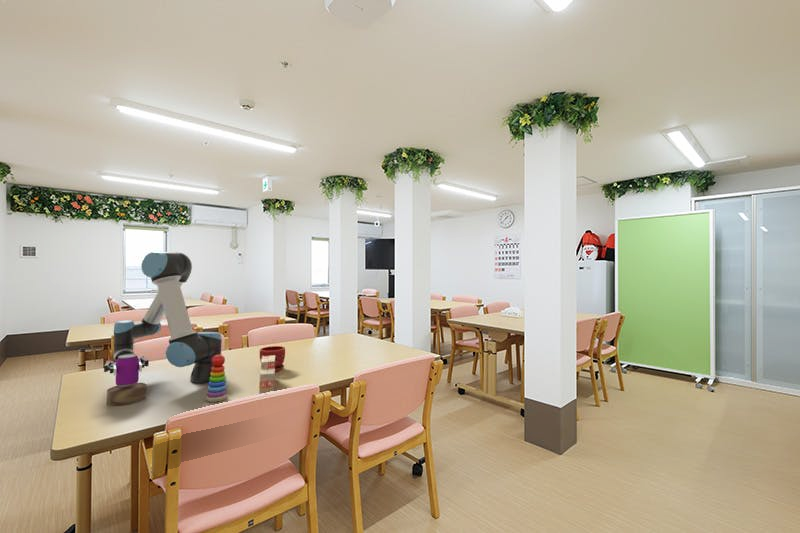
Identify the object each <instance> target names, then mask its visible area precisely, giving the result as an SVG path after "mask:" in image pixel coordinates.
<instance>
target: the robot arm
mask: <svg viewBox="0 0 800 533" xmlns="http://www.w3.org/2000/svg"><path fill="white" fill-rule="evenodd" d="M192 268H193V265H192V261H191V259H190V257H189V256H188V255H186V254H184V253H183V252H178V251H175V252H174V251H152V252H149V253H147V254H146V255H145V256H144V257H143V259H142V262H141V271H142V274H143V275H144V276H146V277H147V278H151V283H152V284H153V285H154V286H156V287H157V290H158V292H157V293H156V295H155V297H154V299H153V300H152V302H151V304H150V305H149V308H148V309H147V311H146V312H145V314H144V316H143V318H142V319H141V321H140V322H134V320H130V319H129V320H127V319H125V320H118V321H115V322H114V325H113V351H112V357H113V359H114V360H113V361H112V360H106V361H105V364H104V366H103V373H107V372H109V374H113V376H115V377H116V361H117V359H118V356H120V355H124V354H135V351H134V345H135V344H134V341H135V339H139V338H144V337H149V336H153V335H156V334H158V333H160V332H161V330H162V324H161V321H162V319H163V318H164V316H165V318H166V321H167V325H168V328H169V332H170V337H169V339H168V343H169V345H168V346H167V347H166V350H165V358H166V359H167V361H168V362H169V363H170V364H171V365H173V366H175V367H176V368H185V367H189V366H191V365H193V364H194V366H193V367H192V371H191V373H190V377H189V378H190V382H191V383H194V384H209V382H210V377H211V375H210V373H211V372H212V370H211V368H212V367H213V366H214V365H213V364H212V358H213V357H214V356H215V355H222V341H223V339H222V334H221V333H220V332H217V331H199V332H197V331H196V330H194V329H193V327H192V324H191V320H190V316H189V312H188V309H187V305H186V302H185V299H184V295H183V291H182V289H181V287H182V285H183V284H184V283H186V282H188V280H189V277H190V276H191V274H192ZM138 359H139V373H140V372H141V373H142V372H143V369H144V368H145V367H149V359H147V358H146V357H145V356H140V357H138ZM223 371H224V372H225V369H224V370H223ZM224 375H225V376H226V372H225V374H224Z"/></svg>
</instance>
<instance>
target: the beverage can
mask: <svg viewBox="0 0 800 533" xmlns="http://www.w3.org/2000/svg"><path fill="white" fill-rule="evenodd" d="M138 358H139V357H138V354H136V353H134V354H124V355H120V356H118V359H117V361H116V375H115V386H119V387H126V386H131V385H134V384H136V383H139V379H140V376H139V375H140V374H139V373H140V371H139V359H138Z"/></svg>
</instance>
